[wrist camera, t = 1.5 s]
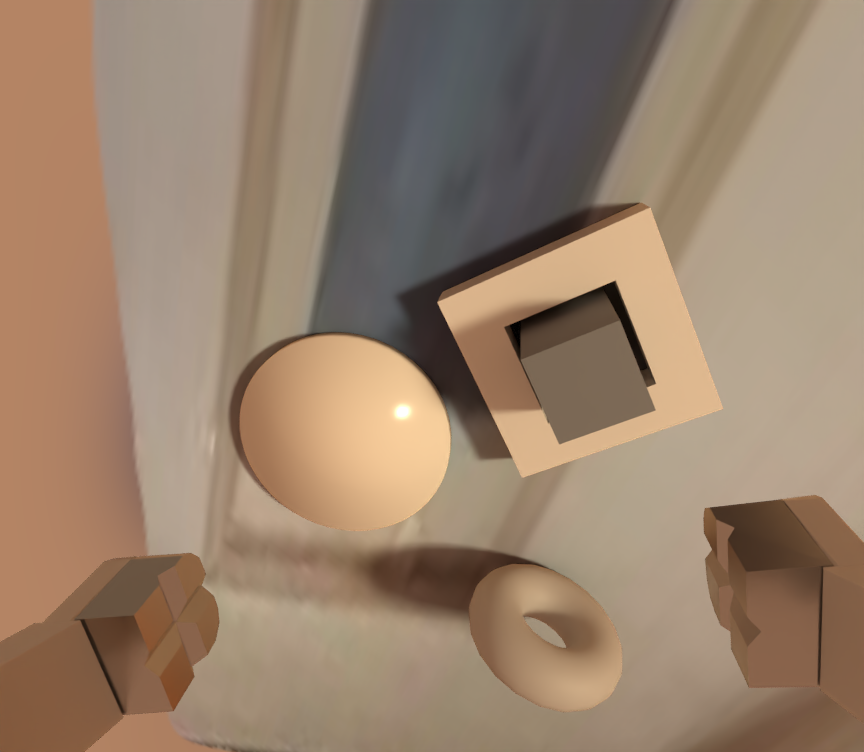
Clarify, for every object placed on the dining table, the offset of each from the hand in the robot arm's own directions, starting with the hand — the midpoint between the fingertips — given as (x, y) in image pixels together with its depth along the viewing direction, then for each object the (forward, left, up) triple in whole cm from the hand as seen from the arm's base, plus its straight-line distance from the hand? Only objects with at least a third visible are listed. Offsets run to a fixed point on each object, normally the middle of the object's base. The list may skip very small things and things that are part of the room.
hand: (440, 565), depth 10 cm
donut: (+6, +22, -28) cm, 36 cm away
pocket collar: (-2, +7, -28) cm, 29 cm away
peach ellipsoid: (+14, +7, -28) cm, 32 cm away
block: (-2, +7, -28) cm, 29 cm away
